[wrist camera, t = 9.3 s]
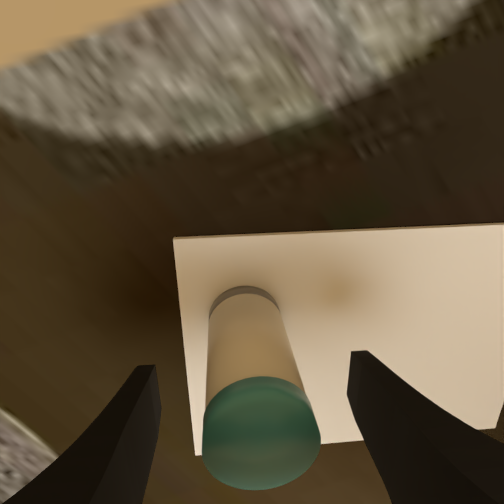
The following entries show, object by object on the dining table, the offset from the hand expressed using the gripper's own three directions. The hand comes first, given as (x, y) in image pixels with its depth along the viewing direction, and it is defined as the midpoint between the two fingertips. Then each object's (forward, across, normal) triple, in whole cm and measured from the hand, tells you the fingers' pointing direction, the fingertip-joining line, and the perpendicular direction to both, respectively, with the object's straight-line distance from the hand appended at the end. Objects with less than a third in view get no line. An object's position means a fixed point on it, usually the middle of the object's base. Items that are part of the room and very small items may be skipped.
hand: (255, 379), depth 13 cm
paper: (+5, -6, +2) cm, 8 cm away
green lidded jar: (+4, 0, 0) cm, 4 cm away
